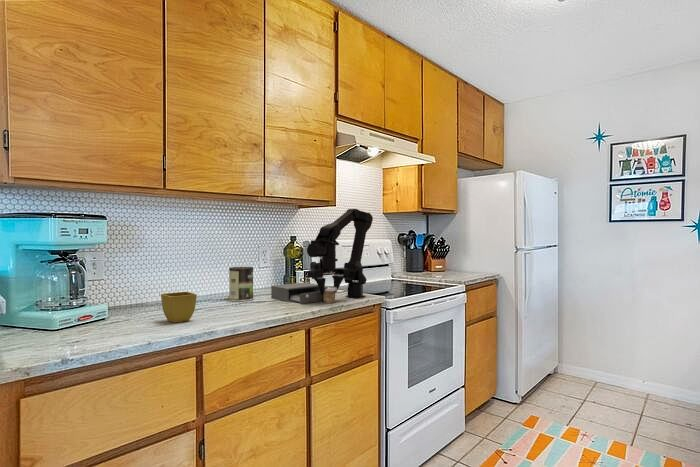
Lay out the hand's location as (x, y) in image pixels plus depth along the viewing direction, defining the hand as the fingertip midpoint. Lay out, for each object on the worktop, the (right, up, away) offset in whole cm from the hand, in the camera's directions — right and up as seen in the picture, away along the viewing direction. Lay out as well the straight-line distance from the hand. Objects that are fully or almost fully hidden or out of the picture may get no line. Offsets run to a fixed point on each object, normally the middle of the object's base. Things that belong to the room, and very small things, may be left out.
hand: (328, 293), depth 167 cm
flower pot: (-48, -4, -35) cm, 59 cm away
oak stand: (0, -4, 0) cm, 4 cm away
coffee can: (-39, -4, +7) cm, 39 cm away
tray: (-9, -4, +5) cm, 11 cm away
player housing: (-15, -4, +12) cm, 20 cm away
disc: (0, +1, 0) cm, 1 cm away
